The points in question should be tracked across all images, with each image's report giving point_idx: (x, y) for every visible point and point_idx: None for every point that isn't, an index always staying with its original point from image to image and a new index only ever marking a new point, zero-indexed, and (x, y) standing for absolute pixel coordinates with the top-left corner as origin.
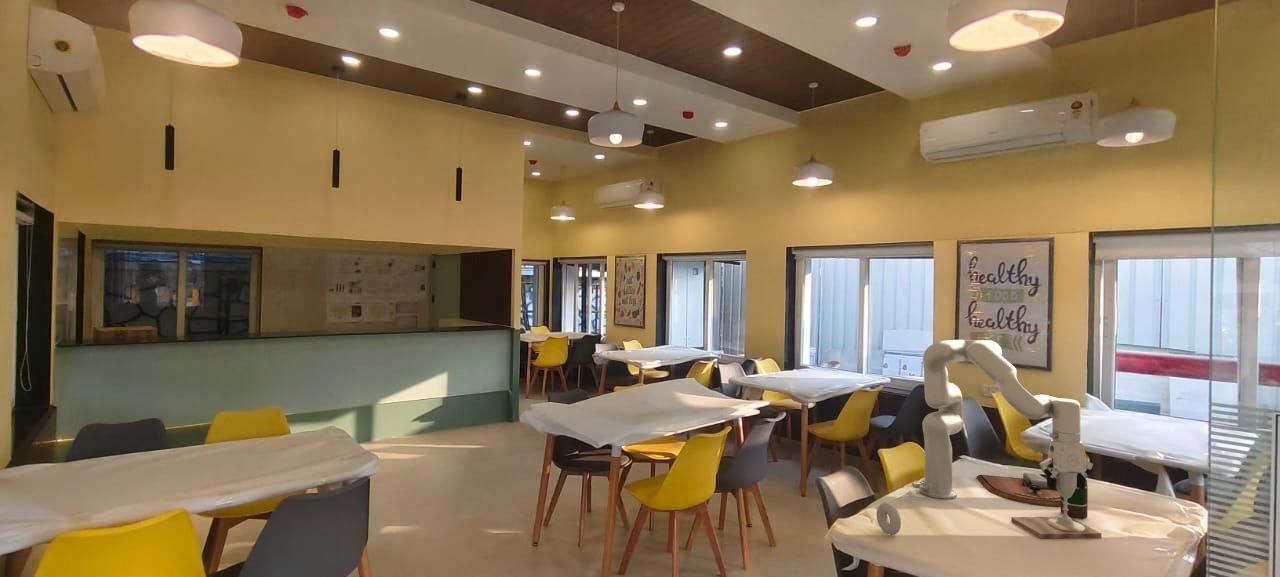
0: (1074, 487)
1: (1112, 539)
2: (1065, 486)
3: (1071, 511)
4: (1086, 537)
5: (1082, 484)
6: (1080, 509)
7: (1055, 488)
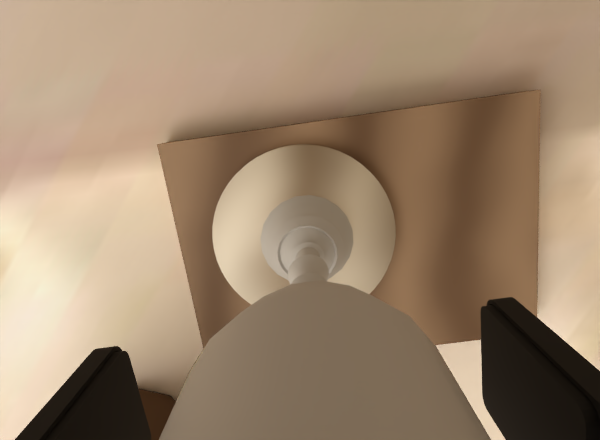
0: (261, 302)
1: (114, 130)
2: (392, 308)
3: (163, 420)
4: (252, 130)
5: (92, 394)
6: None
7: (504, 307)
